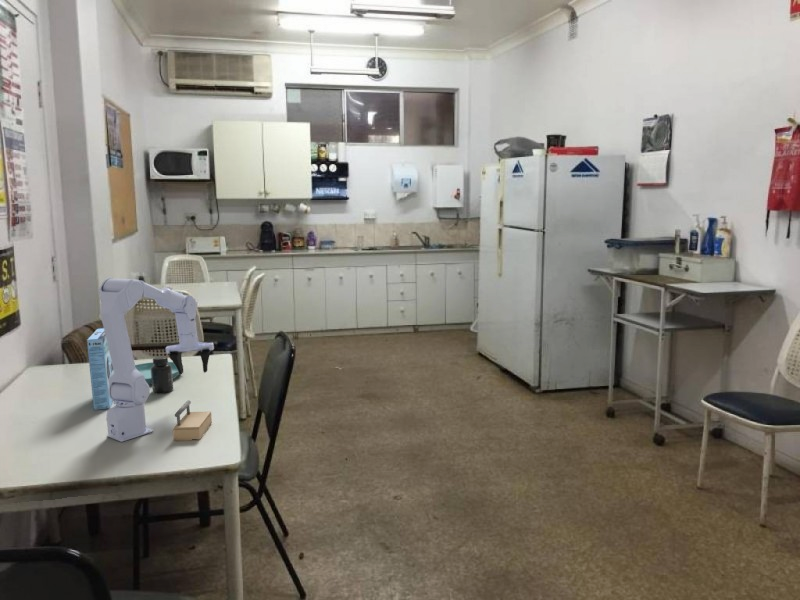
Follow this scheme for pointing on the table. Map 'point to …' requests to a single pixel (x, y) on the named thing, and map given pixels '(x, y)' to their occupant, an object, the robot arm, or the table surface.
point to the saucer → (146, 370)
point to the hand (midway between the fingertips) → (193, 372)
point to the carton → (192, 431)
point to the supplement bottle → (161, 375)
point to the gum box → (100, 369)
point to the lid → (190, 418)
